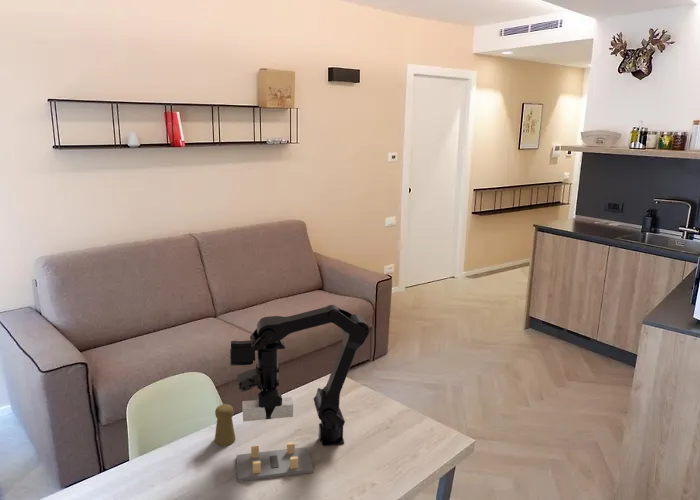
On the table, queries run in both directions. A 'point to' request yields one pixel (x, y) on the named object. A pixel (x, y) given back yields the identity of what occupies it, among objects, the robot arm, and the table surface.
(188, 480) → the table surface
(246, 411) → the air duct
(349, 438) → the table surface
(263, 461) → the plate
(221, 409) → the cork
